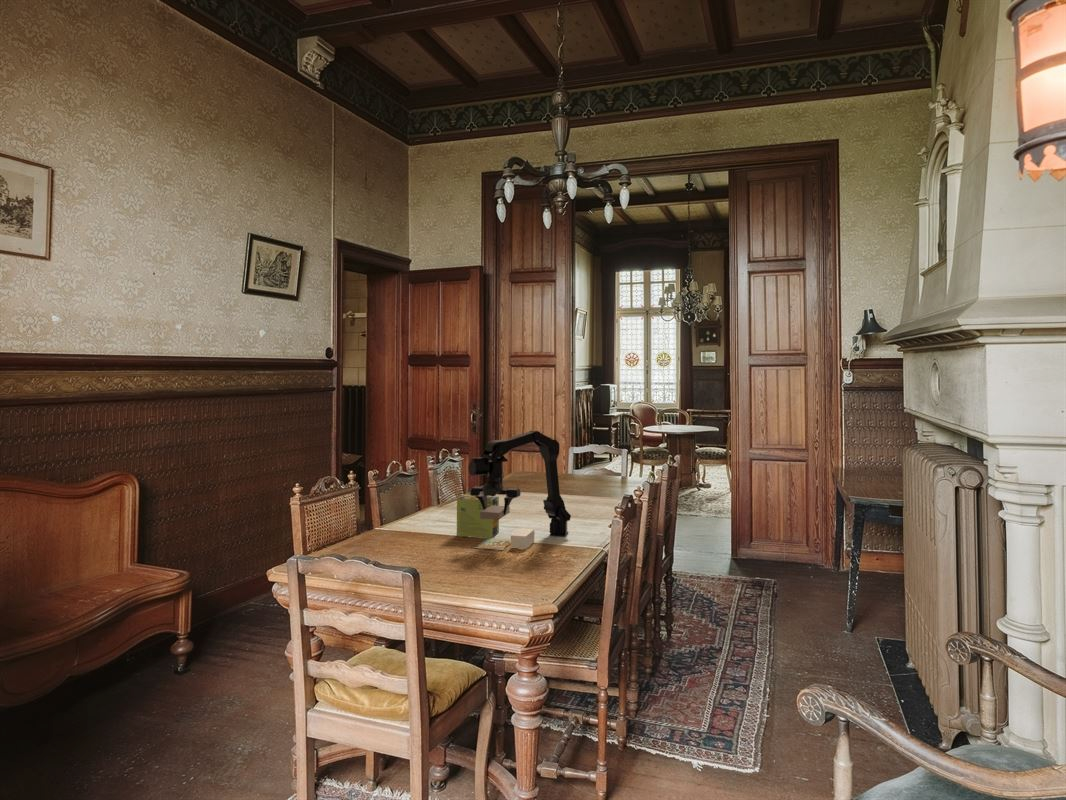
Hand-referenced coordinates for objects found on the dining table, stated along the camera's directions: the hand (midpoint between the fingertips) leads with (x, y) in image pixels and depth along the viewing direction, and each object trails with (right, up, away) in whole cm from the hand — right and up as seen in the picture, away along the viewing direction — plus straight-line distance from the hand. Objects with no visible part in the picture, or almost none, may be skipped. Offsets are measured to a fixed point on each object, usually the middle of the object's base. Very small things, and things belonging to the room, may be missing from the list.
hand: (495, 514), depth 257 cm
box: (+11, -12, 0) cm, 16 cm away
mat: (0, -12, 0) cm, 12 cm away
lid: (0, -1, 0) cm, 1 cm away
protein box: (-8, -12, +17) cm, 22 cm away
